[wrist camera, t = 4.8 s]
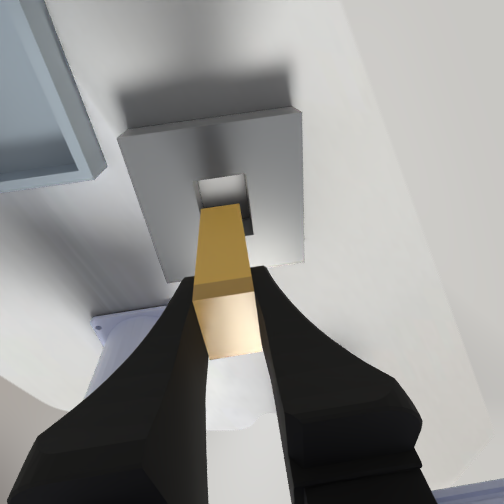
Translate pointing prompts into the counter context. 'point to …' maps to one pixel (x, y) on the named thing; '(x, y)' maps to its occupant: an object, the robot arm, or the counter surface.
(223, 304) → the block
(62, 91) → the parts tray
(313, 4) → the counter surface
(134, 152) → the socket block
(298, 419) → the robot arm
